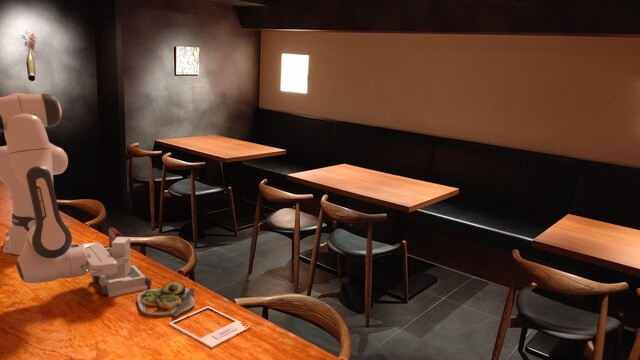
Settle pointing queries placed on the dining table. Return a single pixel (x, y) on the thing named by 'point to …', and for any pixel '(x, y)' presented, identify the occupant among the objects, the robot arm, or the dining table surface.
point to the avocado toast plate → (167, 299)
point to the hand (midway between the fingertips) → (123, 254)
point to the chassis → (123, 283)
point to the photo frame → (218, 335)
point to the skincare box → (121, 255)
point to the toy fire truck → (113, 236)
